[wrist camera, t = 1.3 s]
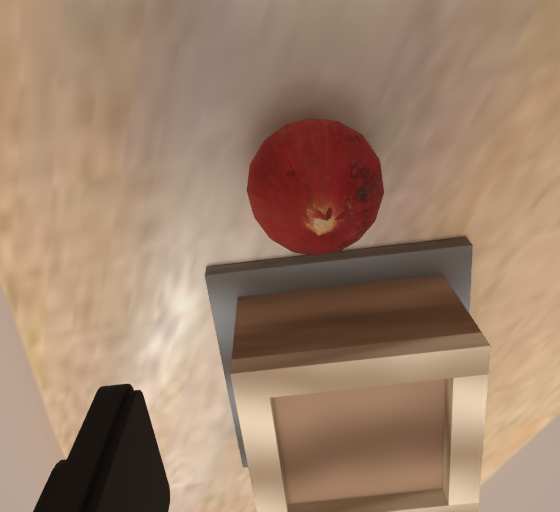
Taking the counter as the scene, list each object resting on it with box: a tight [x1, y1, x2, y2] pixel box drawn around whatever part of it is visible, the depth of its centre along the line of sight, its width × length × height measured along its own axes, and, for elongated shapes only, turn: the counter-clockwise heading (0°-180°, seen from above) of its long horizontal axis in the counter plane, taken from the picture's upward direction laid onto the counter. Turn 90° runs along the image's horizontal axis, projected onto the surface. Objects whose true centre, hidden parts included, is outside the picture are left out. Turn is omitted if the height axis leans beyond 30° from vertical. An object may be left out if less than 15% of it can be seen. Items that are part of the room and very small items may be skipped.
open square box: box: [205, 237, 490, 512], centre depth 28 cm, size 14×14×8 cm
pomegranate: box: [247, 118, 384, 256], centre depth 22 cm, size 6×6×8 cm
